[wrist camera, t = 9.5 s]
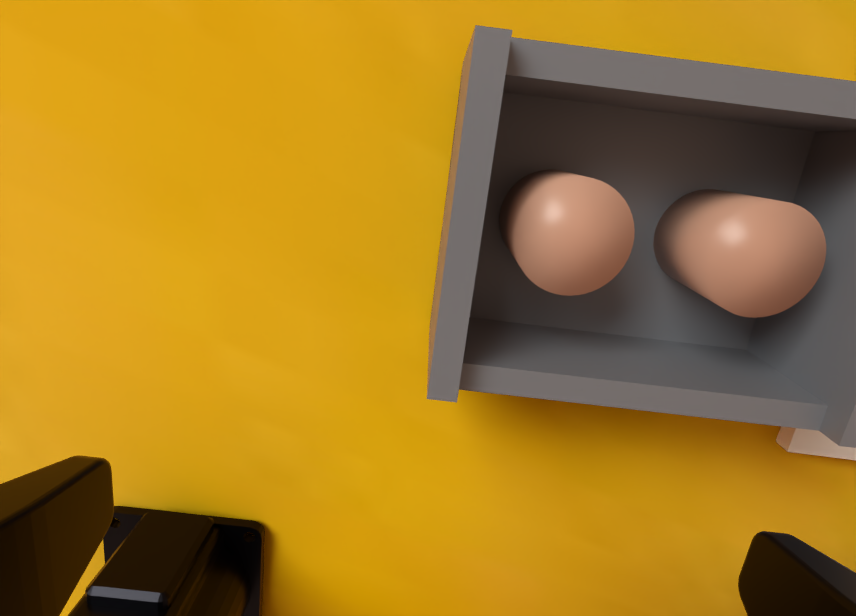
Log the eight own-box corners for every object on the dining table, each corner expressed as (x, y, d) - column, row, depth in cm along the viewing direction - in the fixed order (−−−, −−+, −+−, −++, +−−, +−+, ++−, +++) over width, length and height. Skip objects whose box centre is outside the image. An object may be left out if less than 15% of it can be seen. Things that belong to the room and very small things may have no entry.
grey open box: (749, 364, 20) (867, 449, 15) (429, 326, 20) (426, 398, 14) (831, 109, 17) (1014, 94, 12) (463, 62, 17) (475, 25, 12)
